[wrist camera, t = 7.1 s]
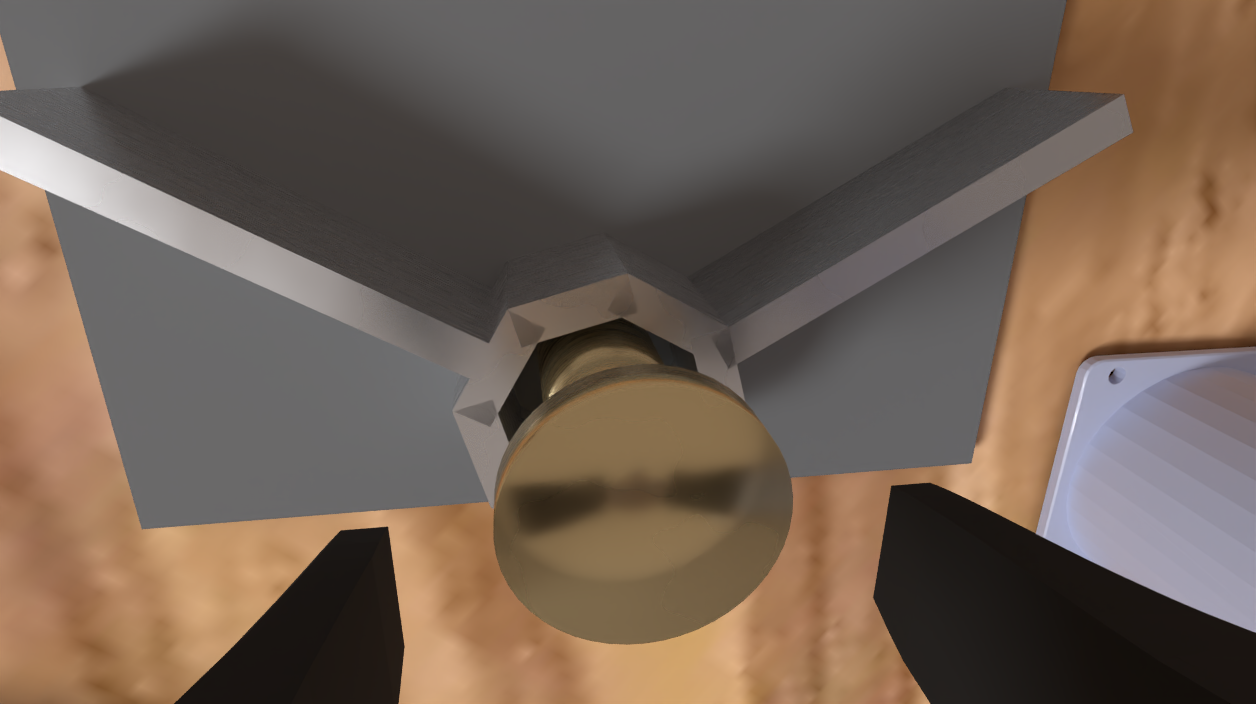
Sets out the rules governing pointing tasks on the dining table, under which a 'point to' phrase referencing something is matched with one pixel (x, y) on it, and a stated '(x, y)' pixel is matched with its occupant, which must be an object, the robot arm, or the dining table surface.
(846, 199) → the steel hinge
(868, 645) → the dining table surface
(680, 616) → the hinge pin
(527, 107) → the mat
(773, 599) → the dining table surface
